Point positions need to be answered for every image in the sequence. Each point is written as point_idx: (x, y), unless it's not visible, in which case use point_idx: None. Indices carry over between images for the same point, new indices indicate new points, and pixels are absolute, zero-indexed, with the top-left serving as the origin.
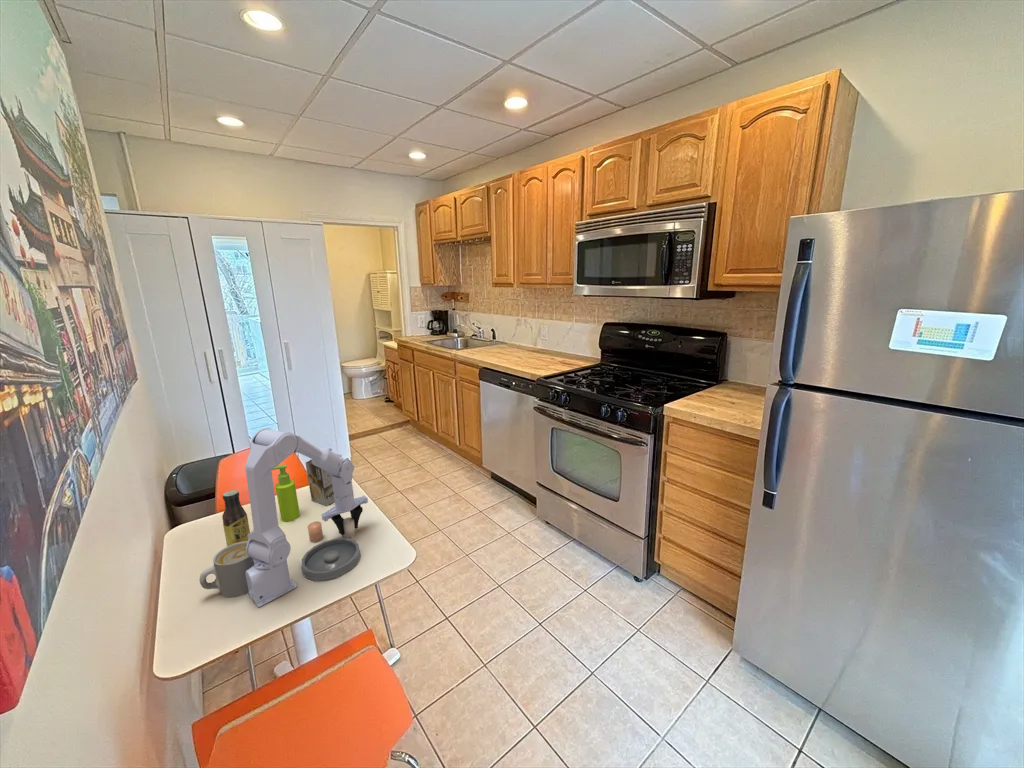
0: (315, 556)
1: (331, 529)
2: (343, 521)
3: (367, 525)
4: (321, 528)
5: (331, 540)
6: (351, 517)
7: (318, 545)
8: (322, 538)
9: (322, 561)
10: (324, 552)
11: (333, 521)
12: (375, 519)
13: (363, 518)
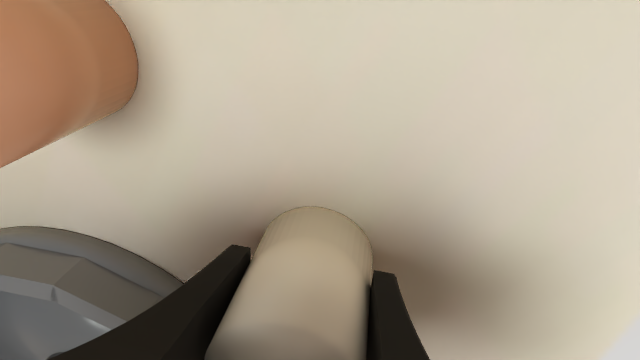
0: (4, 295)
1: (250, 33)
2: (244, 354)
3: (502, 290)
4: (36, 147)
5: (106, 320)
6: (381, 343)
7: (3, 286)
8: (116, 111)
9: (35, 357)
10: (62, 311)
11: (108, 331)
12: (632, 286)
13: (606, 167)
